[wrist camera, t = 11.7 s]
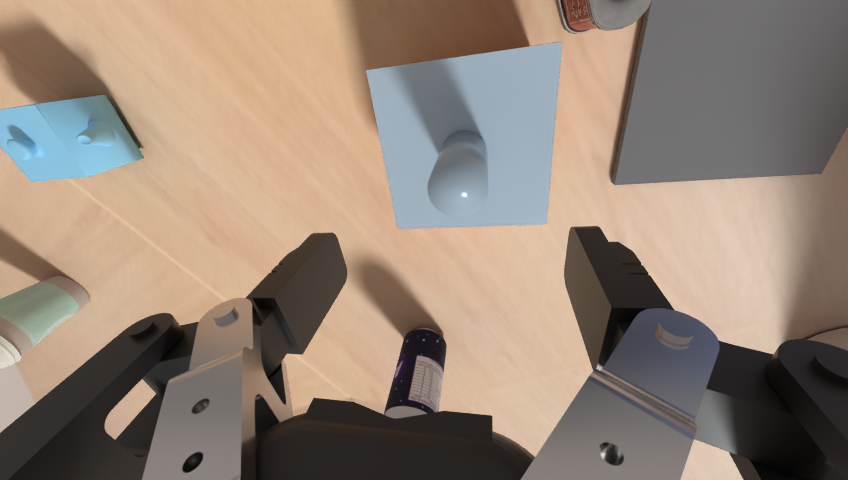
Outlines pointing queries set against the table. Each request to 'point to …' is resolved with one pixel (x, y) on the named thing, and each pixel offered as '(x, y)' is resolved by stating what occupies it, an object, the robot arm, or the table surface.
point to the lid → (469, 137)
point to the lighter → (599, 14)
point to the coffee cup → (36, 314)
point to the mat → (735, 90)
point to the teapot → (66, 138)
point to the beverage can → (417, 375)
